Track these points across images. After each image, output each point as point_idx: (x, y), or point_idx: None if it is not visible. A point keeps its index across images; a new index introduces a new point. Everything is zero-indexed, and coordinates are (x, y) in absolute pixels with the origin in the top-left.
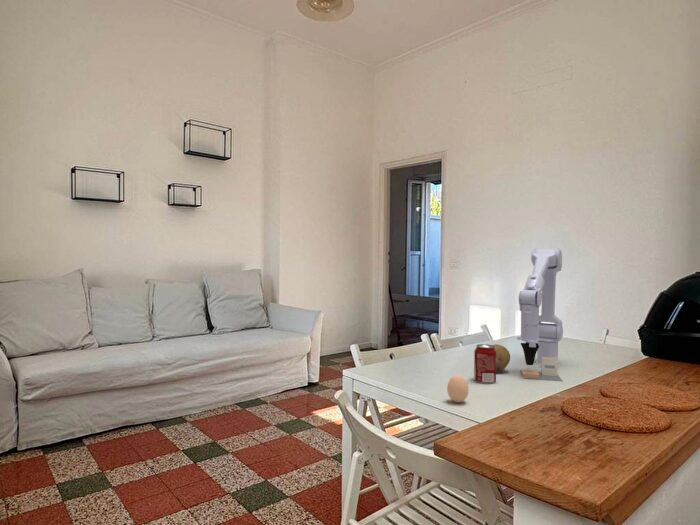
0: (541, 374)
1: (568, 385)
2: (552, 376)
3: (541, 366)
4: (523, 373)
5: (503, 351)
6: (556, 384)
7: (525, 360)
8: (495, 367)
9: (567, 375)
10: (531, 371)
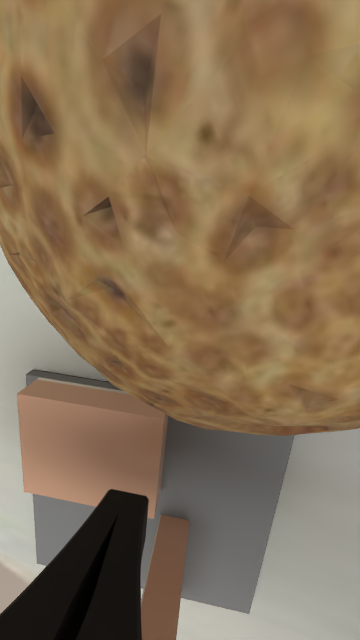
0: (172, 518)
1: (3, 556)
2: None
3: (164, 582)
4: (28, 396)
5: (27, 279)
6: (2, 514)
7: (114, 522)
8: None
9: (220, 636)
10: (111, 472)
